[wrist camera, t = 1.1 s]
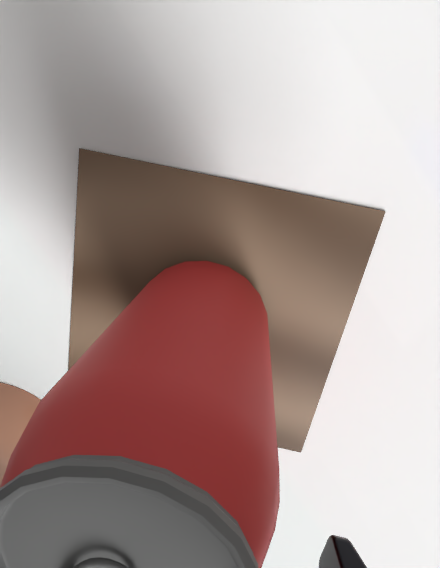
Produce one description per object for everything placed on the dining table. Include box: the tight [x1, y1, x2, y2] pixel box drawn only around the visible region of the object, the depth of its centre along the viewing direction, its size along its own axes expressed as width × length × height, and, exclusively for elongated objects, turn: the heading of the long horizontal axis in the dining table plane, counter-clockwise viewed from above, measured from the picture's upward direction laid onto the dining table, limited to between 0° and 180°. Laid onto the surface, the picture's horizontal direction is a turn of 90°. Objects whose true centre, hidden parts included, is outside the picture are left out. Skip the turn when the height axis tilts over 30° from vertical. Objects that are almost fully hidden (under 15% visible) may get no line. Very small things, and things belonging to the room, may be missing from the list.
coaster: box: [0, 383, 41, 486], centre depth 22 cm, size 10×10×1 cm
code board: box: [68, 148, 385, 452], centre depth 18 cm, size 14×14×1 cm
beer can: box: [0, 261, 280, 568], centre depth 12 cm, size 7×7×12 cm
